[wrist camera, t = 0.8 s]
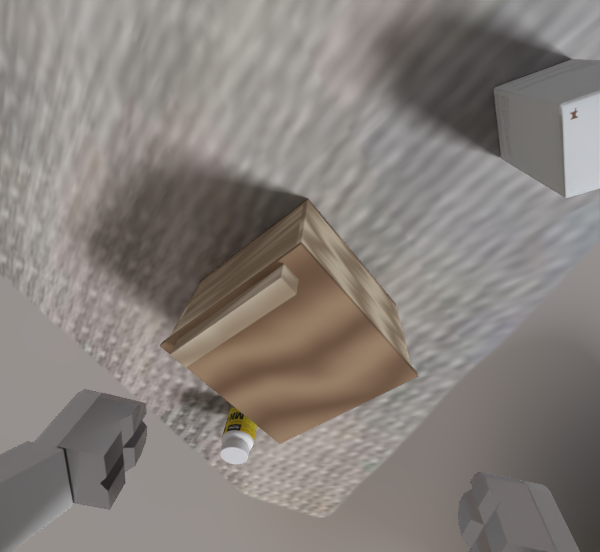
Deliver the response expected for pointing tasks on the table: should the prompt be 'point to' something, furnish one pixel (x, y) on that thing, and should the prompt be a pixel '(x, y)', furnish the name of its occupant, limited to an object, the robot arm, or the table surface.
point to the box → (324, 247)
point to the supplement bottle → (237, 437)
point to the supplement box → (553, 125)
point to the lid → (290, 348)
